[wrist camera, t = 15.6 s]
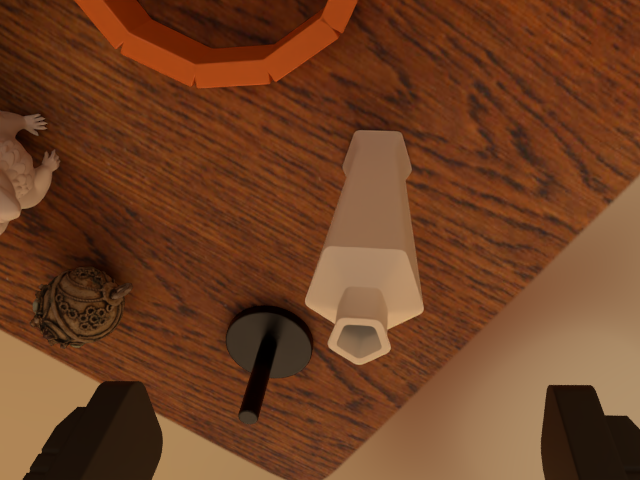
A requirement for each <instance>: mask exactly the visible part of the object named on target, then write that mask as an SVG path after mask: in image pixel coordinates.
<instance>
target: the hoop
mask: <svg viewBox="0 0 640 480" xmlns="http://www.w3.org/2000/svg"><path fill="white" fill-rule="evenodd" d="M74 1H75V2H76V3H77V4H78V5H79V7H80V8H81V9H82V10H83V11H84V13H85V14H86V15H87V16H88V17H89V19H90V20H91V21H92V22H93V23H94V25H95V26H96V27H97V28H98V29H99V31H100V32H101V33H102V34H103V35H104V37H105V38H106V39H107V40H108V41H109V43H110V44H111V45H112V46H113V47H114V48H115V49H117V48H119V47H121V46H122V48H121V54H122V55H125V56H127V57H129V58H131V59H133V60H135V61H137V62H139V63H141V64H143V65H146V66H148V67H150V68H152V69H154V70H156V71H158V72H160V73H162V74H164V75H167V76H169V77H171V78H173V79H175V80H177V81H179V82H181V83H183V84H186V85H188V86H190V87H192V86H193V85H194V84H195V83H196V86H197V88H213V87H230V86H247V85H263V84H270V83H271V82H272V80H274V81H275V82H277V81H278V80H280V79H281V78H283V77H284V76H286V75H287V74H288V73H290V72H291V71H293V70H294V69H295V68H297V67H298V66H300V65H301V64H303V63H304V62H305V61H307V60H308V59H310V58H311V57H313V56H314V55H315V54H317V53H318V52H320V51H321V50H323V49H324V48H325V47H327V46H328V45H330V44H331V43H333V42H334V41H335V40H337V39H338V38H339V35H340V33H343V32H344V30H345V28H346V25H347V23H348V21H349V19H350V17H351V15H352V13H353V10H354V8H355V6H356V4H357V2H358V0H328V1H327V3H326V6H325V7H324V8H323V9H322V10H320V11H319V12H318V13H316V14H315V15H314V16H312V17H311V18H309V19H308V20H307V21H305V22H304V23H303V24H301V25H300V26H299V27H297V28H296V29H295V30H293V31H292V32H290V33H289V34H288V35H286V36H285V37H284V38H282V39H281V40H280V41H278V42H277V43H275V44H270V45H256V46H242V47H228V48H214V49H212V48H210V47H208V46H206V45H204V44H202V43H200V42H197V41H195V40H193V39H191V38H189V37H187V36H185V35H183V34H181V33H179V32H177V31H175V30H173V29H171V28H169V27H167V26H165V25H163V24H160V23H158V22H156V21H154V20H152V19H151V18H150V16H149V15H148V14H147V13H146V11H145V10H144V9H143V8H142V6H141V5H140V4H139V2H138V1H137V0H74Z"/></svg>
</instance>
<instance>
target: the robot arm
mask: <svg viewBox="0 0 640 480" xmlns="http://www.w3.org/2000/svg"><path fill="white" fill-rule="evenodd" d="M162 444H163V438H162V431H161V428H160V425H159V423H158V420H157V417H156V415H155V412H154V409H153V407H152V404H151V401H150V399H149V396H148V393H147V391H146V388H145V386H144V385H143V383H141V382H139V381H105V382H103V383H101V384H100V385H99V386H98V388H97V389H96V391H95V393H94V394H93V396H92V398H91V399H90V401H89V403H88V404H87V406H86V407H77V408H76V409H75V410H74V411H73V412H72V413H70V414H69V415H68V416H67V417H66V418H65V419H64V420H63V421H62V422H61V423H60V424H59V425H57V426H56V428H55V429H54V431H53V432H52V434H51V435H50V437H49V439H48V440H47V442H46V443H45V445H44V446H43V448H42V453H41V454H38V456H37V457H36V459H35V461H34V462H33V464H32V466H31V467H30V472H29V473H26V475H25V476H24V478H23V480H152V477H153V475H154V473H155V470H156V468H157V465H158V463H159V460H160V457H161V453H162ZM541 456H542V464H543V471H544V476H545V480H640V429H639V428H638V427H637V426H636V425H635V424H634V423H633V422H632V421H631V420H630V419H629V417H628V416H606V415H604V412H603V410H602V407H601V404H600V401H599V399H598V396H597V393H596V391H595V389H594V388H593V386H591V385H549V386H548V388H547V393H546V402H545V410H544V419H543V428H542V437H541Z"/></svg>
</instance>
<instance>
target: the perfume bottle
mask: <svg viewBox="0 0 640 480" xmlns="http://www.w3.org/2000/svg"><path fill="white" fill-rule="evenodd" d="M342 168H343V171H344V173H345V175H346V180H345V183H344V186H343V189H342V192H341V195H340V198H339V201H338V204H337V207H336V210H335V213H334V216H333V219H332V222H331V225H330V228H329V231H328V234H327V237H326V240H325V243H324V245H323V248H322V251H321V254H320V257H319V260H318V263H317V266H316V269H315V272H314V275H313V278H312V281H311V284H310V287H309V290H308V293H307V296H306V299H305V304H306V305H307V306H308V307H309V308H310V309H312V310H314V311H315V312H317V313H318V314H320V315H322V316H323V317H325V318H326V319H328V320H330V321H331V322H333V323H334V324H335V326H334V329H333V331H332V333H331V336H330V338H329V340H328V346H329V348H330V349H332V350H333V351H335V352H336V353H338V354H340V355H341V356H343V357H344V358H346V359H348V360H349V361H351V362H353V363H355V364H358V365H361V364H365V363H367V362H369V361H371V360H373V359H376V358H378V357H380V356H382V355H384V354H386V353H388V352H389V351H390V349H391V346H390V343H389V340H388V337H387V330H388V329H390V328H392V327H394V326H396V325H398V324H400V323H402V322H405V321H407V320H409V319H411V318H413V317H415V316H417V315H419V314H421V313H422V312H423V310H424V307H423V300H422V293H421V286H420V279H419V272H418V265H417V258H416V251H415V244H414V237H413V230H412V223H411V216H410V209H409V203H408V196H407V189H406V182H405V180H406V179H407V177H408V176H409V174H410V173H411V171H412V167H411V163H410V160H409V156H408V153H407V149H406V146H405V142H404V139H403V135H402V133H400V132H398V131H373V130H358V131H356V132H355V133H354V135H353V138H352V141H351V144H350V146H349V149H348V152H347V155H346V157H345V160H344V163H343V167H342Z"/></svg>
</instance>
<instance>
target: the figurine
mask: <svg viewBox="0 0 640 480" xmlns="http://www.w3.org/2000/svg"><path fill="white" fill-rule="evenodd" d="M40 115H41V114H35V115H28V116H21V115H19V114H16V113H11V112H5V111H0V235H1V234H2V233H3V232H4V231H5V229H6V228H7V225H8V223H9V221H10V220H13V219H16V218H18V217H19V216H20V212H21V209H26V208H30V207H33V206H35V205H37V204H38V203H39V202H41V200H42V199H43V198H44V197H45V194H46V193H47V191H48V189H49V187H50V184H51V180H52V172H53V171H54V170H56V169H57V168H58V167H59V162H60V160H59V159H58V158H59V156H57V154H55V149H54V151H52V154H51V156H50V157H49V154H48V153H47V151H46V153H45V156H44V158H43V161H42V165H41V166H39V167H37V168H33V166H32V165H33V160H32V157H31V155H30V154H28V153H27V152H26V150H25V149H24V147H23V146H22V145H21V144H20V143H19V142H18V141H17V140H16V139H15V136H16V134H17V132H18V131H20V130H22V129H25V130H27V131H29V132H30V133H33V134H34V135H37V136H39V135H38V133H37V131H35V130H34V129H40V130H42V129H43V130H44V129H48V128H45V126H40V125H45V124H47V123H45V122H43V121H42V120H44V119H45V118H43V117H39V116H40ZM36 117H39V118H36ZM34 118H35V119H34ZM38 121H42V122H38ZM48 157H49V158H48Z"/></svg>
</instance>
